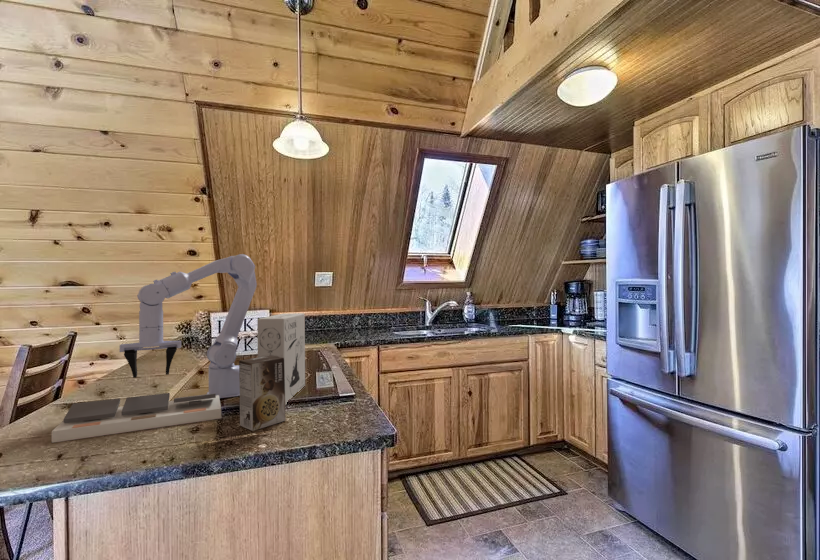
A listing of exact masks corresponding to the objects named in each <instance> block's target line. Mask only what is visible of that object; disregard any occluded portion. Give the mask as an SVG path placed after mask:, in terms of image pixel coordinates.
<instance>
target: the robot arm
mask: <svg viewBox="0 0 820 560" xmlns="http://www.w3.org/2000/svg"><path fill="white" fill-rule="evenodd" d="M255 269H256V265H255V264H254V262H253V260H252V259H251V257H250V256H248V255H247V254H245V253H241V254H240V253H239V254H237V255H230V256H228V257H224V258H220V259H217V260H214V261H212V262H209V263H207V264H205V265H203V266H201V267H198V268H195V269H194V270H192V271H190V272H187V273H186V272H184V271H178V272H176V271H172V272H170V275H168V276H165V277H163V278H161V279H159V280H158V279H154V280H153V281H152V282H153V283H149V284H147V285H143V286H142V287H141V288H140V289H139V290H138V293H137V299H138V301H139V312H138V314H139V315H138V321H139V323H138V325H139V326H138V327H139V328H138V331H139V332H138V333H139V334H138V336H139V338H138V339H139V340H138V342H133V343H122V344H119V353H123V356H124V358H125V359H126V361H127V364H128V365H129V367H130V371H131V373H132V378H134V379H135V378H137V377H138V367H137V366H138V363H137V359H138V358H137V357H138V351H149V350H164V349H166V350H165V360H166V362H165V363H166V364H165V375H166V376H168V375H170V369H171V364H172V361H173V360H174V359H173V358H174V357H175V354H176V352H177V350H178V349H181V348H182V340H164V310H163V302H164V300H165V299H170V298H172V297H175V296H177V295H180V294H181V293H183V292H185V291H188V290H190V289H191V286H192V284H193V283H195V282H198V281H200V280H203V279H206V278H207V277H210V276H213V275H215V274H218V273H220V274H226V273H227V274H228V275H229V276H230V277H231V278H233V281H234V282H235V283H236V286H237V289H236V292H235V295H234V297H233V300H232V302H231V305H230V308H229V310H228V313H227V315H226V318H225V321H224V322H223V324H222V325H223V326H222V328H221V331H220V332H219V334H218V335H217V337H216V338H214V339H215V340H214V342H213V343H212V345H210V347H208V349H207V351H206V357H207V360H208V361H209V362H210V363H209V365H208V391H207V392H206V394H214V393H215V394H216V395H219V398H220V399H224V398H232V397H238V396H239V397H240V380H239V364H238V365H235V361H236V360H237V349H238V336H239V334H240V332H241V328H242V326H243V324H244V321H245V318H246V316H247V313H248V310H249V308H250V305H251V304H252V303H251V302H252V300H253V297H254V294H255V292H256V290H257V287H258V286H257V284H258V283H257V278H256V277H257V276H256V271H255Z"/></svg>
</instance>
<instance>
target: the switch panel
mask: <svg viewBox="0 0 820 560" xmlns="http://www.w3.org/2000/svg"><path fill="white" fill-rule="evenodd" d="M220 399H221V398H219V395H216V398H209V399H201V400H193V401H185V402H177V403H174V400H169V404H168V410H163V411H155V412H147V413H140V414H132V415H124V416H122V414H121V412H122V409H123V406H119V407H118V409H117V412H116V414H115V417H109V418H102V419H94V420H86V421H78V422H70V423H64V422H63V420H62V421H61V422H60V423H59V424H58V425H56V427H54V428H53V429H52V431H51V443H59V442H67V441H72V440H79V439H80V440H81V439H87V438H93V437H94V438H95V437H101V436H108V435H115V434H121V433H127V432H128V433H130V432H136V431H144V430H149V429H156V428H163V427H171V426H177V425H184V424H190V423H198V422H205V421H206V422H207V421H212V420H218V419H222V406H221V405H222V403H221V400H220Z"/></svg>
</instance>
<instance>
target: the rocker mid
mask: <svg viewBox="0 0 820 560" xmlns="http://www.w3.org/2000/svg"><path fill="white" fill-rule="evenodd" d="M170 394H171V393H170V392H165V393H156V394H147V395H138V396H130V397H129V396H128V397H126V398H125V402H124V404H123V406H122V407H123V409H122V412H121V414H122V416H124V415H132V414H140V413H147V412H155V411H163V410H168V404H169V401H170Z"/></svg>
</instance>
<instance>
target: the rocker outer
mask: <svg viewBox="0 0 820 560" xmlns="http://www.w3.org/2000/svg"><path fill="white" fill-rule="evenodd" d="M120 404H121V398H111V399H110V398H109V399H103V400H93V401H84V402H75V403H72V404H71V406H70V408H69V409H68V410H67V412H66V414H65V416H64V417H63V419H62V421H63V422H64V423H70V422H78V421H86V420H94V419H102V418H109V417H115V414H116V412H117V409H118V407H120Z"/></svg>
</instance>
